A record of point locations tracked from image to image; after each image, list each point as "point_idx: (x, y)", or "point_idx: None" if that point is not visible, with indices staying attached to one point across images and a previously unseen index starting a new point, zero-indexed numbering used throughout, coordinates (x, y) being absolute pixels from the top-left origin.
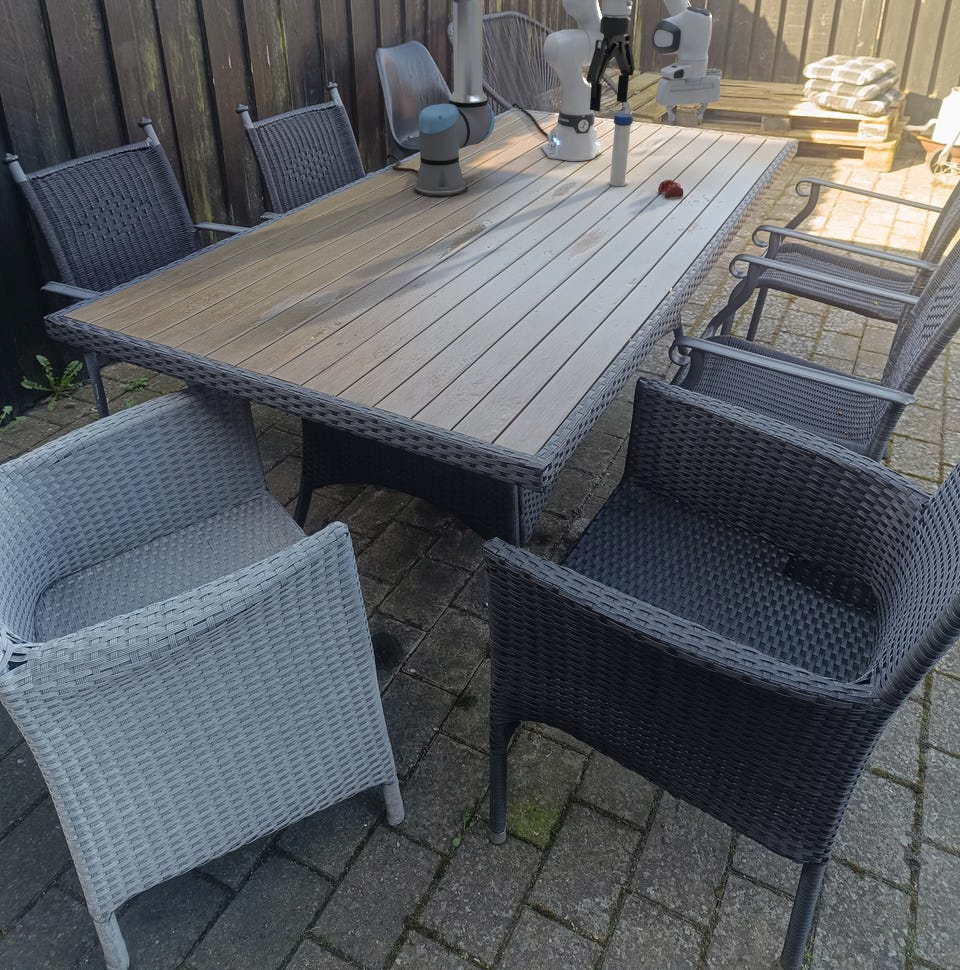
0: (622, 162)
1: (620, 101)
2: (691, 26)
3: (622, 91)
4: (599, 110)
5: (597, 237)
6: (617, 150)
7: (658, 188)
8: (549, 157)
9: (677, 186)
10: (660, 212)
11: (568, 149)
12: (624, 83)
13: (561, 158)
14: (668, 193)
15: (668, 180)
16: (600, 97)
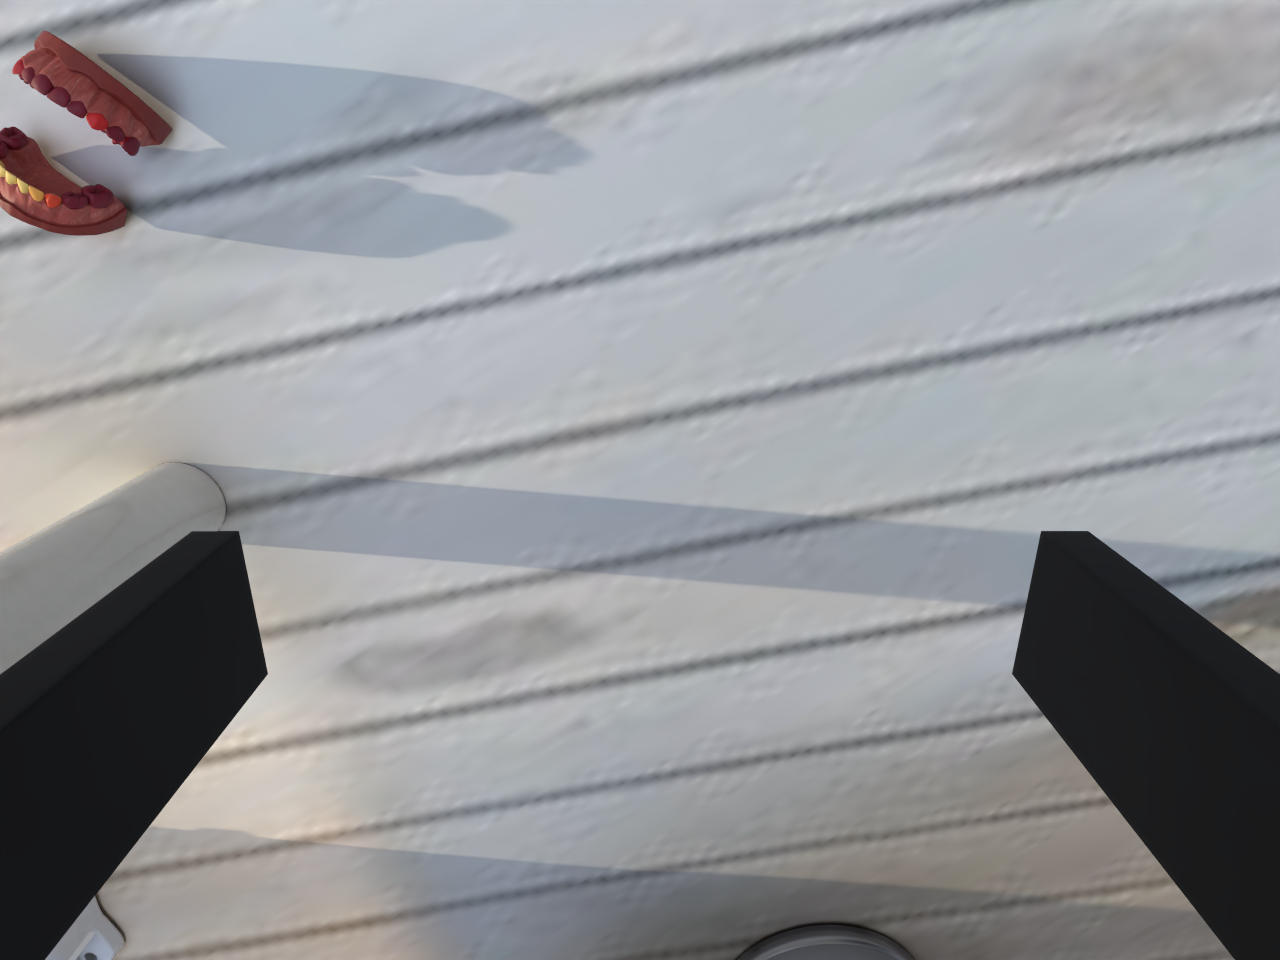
0: (116, 523)
1: (254, 614)
2: None
3: (153, 693)
4: (1058, 533)
5: (1063, 76)
6: (95, 590)
7: (104, 232)
8: (121, 945)
9: (71, 54)
10: (427, 4)
11: None
12: (30, 780)
13: (91, 902)
14: (149, 108)
15: (17, 183)
16: (1190, 644)
